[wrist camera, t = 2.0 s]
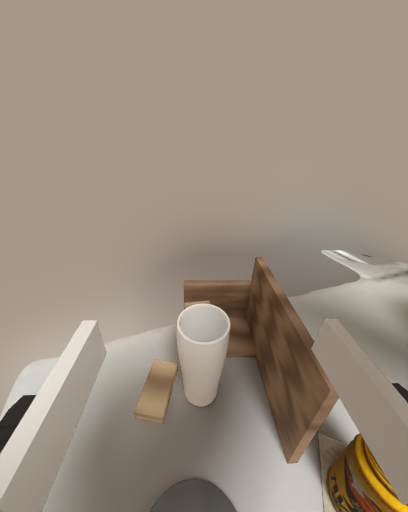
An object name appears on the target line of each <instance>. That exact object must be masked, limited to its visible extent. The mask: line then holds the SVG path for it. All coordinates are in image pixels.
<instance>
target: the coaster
mask: <svg viewBox="0 0 408 512" xmlns="http://www.w3.org/2000/svg"><path fill="white" fill-rule="evenodd" d="M150 512H237V511H236V510H235V508H234V506H233V505H232V503H231V502H230V500H229V499H228V498H227V496H226V495H225V494H224V493H223V492H222V491H221V490H220V489H218V488H217V487H216V486H214V485H213V484H211V483H209V482H206V481H203V480H198V479H190V480H185V481H182V482H180V483H177V484H176V485H174V486H172V487H171V488H170V489H168V490H167V491H166V492H165V493H164V494H163V495H162V496H161V497H160V498H159V499H158V501H157V502H156V503H155V505H154V506H153V508H152V509H151V511H150Z"/></svg>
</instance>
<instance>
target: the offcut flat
mask: <svg viewBox="0 0 408 512" xmlns="http://www.w3.org/2000/svg"><path fill="white" fill-rule="evenodd" d="M177 370H178V363H174V362H168V361H161V360H154V363H153V366H152V368H151V371H150V373H149V376H148V378H147V381H146V383H145V386H144V389H143V391H142V394H141V396H140V399H139V401H138V404H137V406H136V409H135V412H134V414H135V418H136V419H141V420H147V421H152V422H157V423H162V424H163V422H164V419H165V415H166V411H167V407H168V404H169V400H170V396H171V393H172V389H173V385H174V382H175V378H176V374H177Z"/></svg>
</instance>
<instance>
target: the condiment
mask: <svg viewBox="0 0 408 512" xmlns="http://www.w3.org/2000/svg"><path fill="white" fill-rule="evenodd" d="M318 438H319V450H320V464H321V479H322V491H323V503H324V512H408V504H405V505H402V504H401V502H400V500H399V499H398V497H397V495H396V494H395V492H394V490H393V488H392V487H391V485H390V483H389V482H388V480H387V478H386V476H385V475H384V473H383V471H382V470H381V468H380V466H379V464H378V463H377V461H376V459H375V458H374V456H373V454H372V452H371V451H370V449H369V447H368V446H367V444H366V442H365V440H364V439H363V437H362V435H361V434H358V435H356V436H355V438H354V440H353V441H351V442H350V444H349V445H347V444H345V443H342V442H340V441H338V440H336V439H333V438H331V437H328V436H326V435H324V434H322V433H319V432H318ZM337 457H338V458H337Z"/></svg>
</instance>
